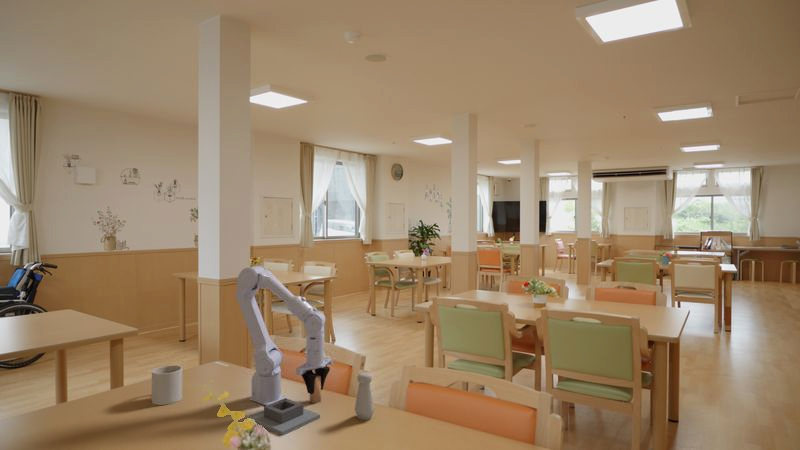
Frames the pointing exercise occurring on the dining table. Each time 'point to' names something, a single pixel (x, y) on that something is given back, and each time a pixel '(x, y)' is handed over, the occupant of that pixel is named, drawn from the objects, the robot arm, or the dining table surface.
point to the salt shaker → (364, 397)
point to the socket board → (284, 416)
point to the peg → (316, 390)
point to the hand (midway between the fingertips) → (315, 391)
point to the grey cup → (166, 385)
